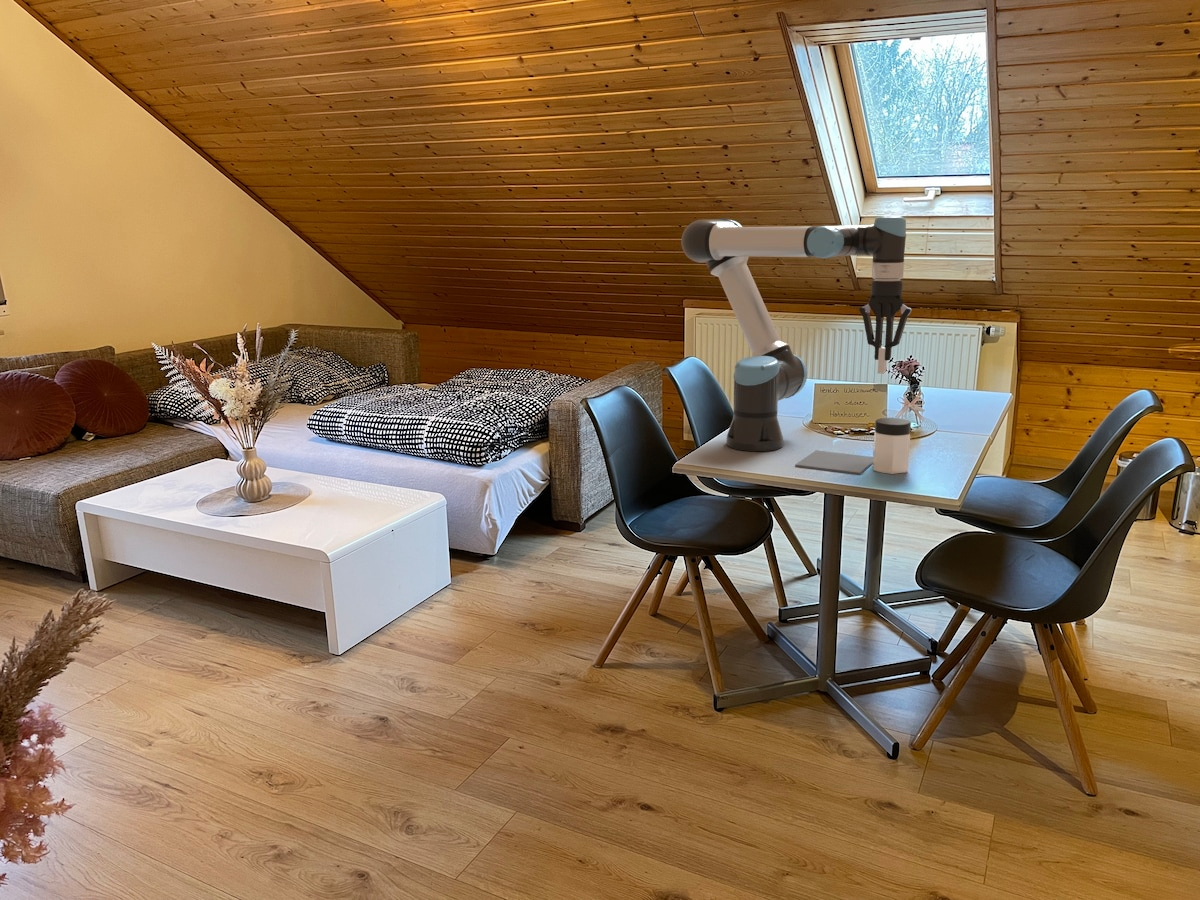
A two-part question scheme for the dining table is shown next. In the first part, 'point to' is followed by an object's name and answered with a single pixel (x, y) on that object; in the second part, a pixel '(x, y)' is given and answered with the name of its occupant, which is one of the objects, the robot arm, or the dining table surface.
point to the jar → (891, 445)
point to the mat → (836, 462)
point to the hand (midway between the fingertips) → (881, 372)
